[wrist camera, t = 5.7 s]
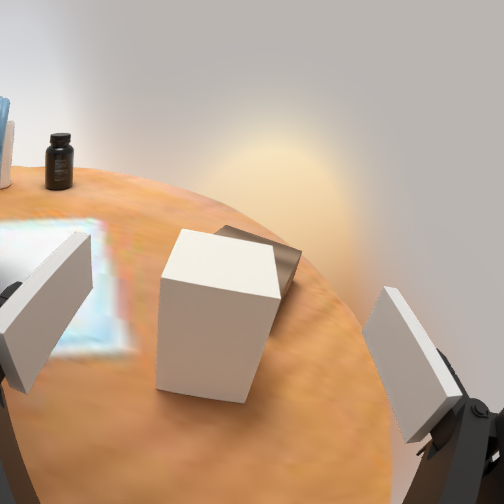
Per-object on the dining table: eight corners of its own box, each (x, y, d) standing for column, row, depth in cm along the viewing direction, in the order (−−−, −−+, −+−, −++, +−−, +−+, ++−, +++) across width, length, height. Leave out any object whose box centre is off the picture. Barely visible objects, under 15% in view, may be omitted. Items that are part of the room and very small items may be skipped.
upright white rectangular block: (244, 403, 26) (280, 298, 21) (156, 388, 26) (161, 277, 20) (244, 344, 34) (272, 245, 28) (171, 331, 33) (182, 228, 27)
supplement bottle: (76, 182, 65) (79, 132, 60) (66, 192, 59) (68, 137, 54) (52, 180, 64) (54, 131, 58) (40, 189, 58) (41, 136, 53)
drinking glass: (-15, 191, 51) (-16, 126, 44) (-7, 182, 56) (-7, 121, 50) (9, 190, 54) (10, 123, 48) (16, 181, 59) (18, 119, 53)
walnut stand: (266, 334, 36) (277, 299, 34) (174, 296, 38) (178, 261, 36) (292, 280, 48) (302, 251, 46) (220, 253, 50) (226, 224, 48)
